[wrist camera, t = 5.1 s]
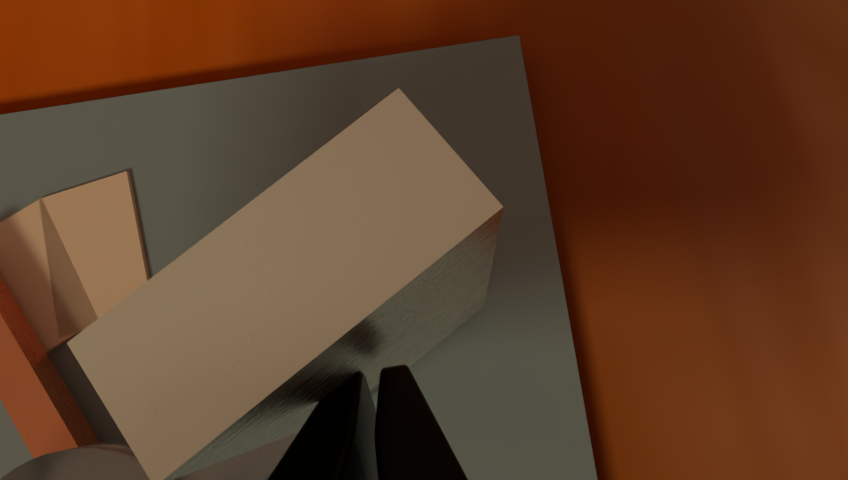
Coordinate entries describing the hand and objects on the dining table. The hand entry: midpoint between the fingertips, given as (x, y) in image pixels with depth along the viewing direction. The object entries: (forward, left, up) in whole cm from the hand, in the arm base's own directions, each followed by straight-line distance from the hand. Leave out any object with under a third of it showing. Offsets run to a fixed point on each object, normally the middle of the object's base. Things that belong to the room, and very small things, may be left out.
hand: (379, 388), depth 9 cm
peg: (+2, +5, -5) cm, 8 cm away
